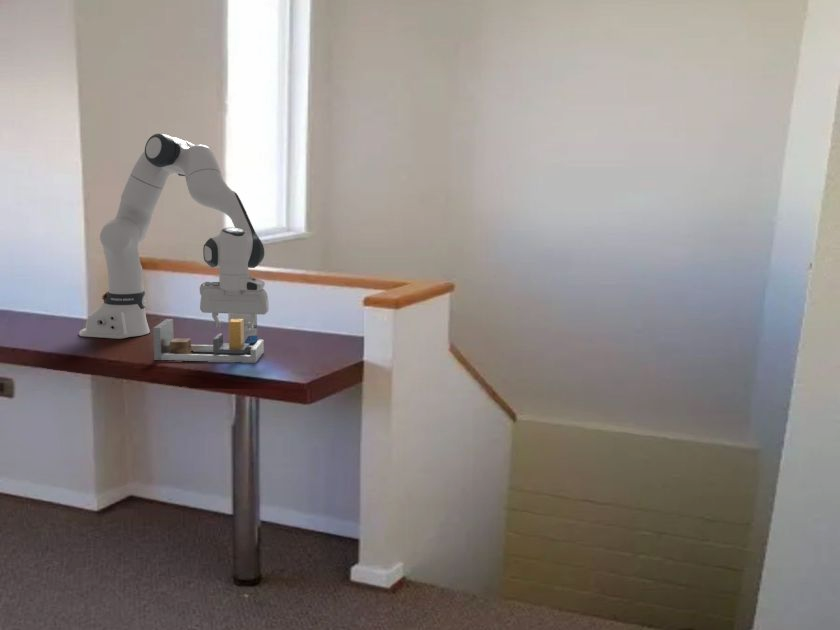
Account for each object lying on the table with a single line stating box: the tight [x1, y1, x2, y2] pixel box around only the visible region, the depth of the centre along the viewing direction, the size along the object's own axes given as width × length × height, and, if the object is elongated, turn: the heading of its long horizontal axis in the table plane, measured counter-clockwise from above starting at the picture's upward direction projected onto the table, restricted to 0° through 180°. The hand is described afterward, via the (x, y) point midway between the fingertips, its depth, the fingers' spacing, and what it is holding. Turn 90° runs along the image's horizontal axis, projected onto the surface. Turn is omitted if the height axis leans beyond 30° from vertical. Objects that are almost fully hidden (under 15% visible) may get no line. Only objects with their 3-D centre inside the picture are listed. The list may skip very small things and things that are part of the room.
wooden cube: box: [170, 337, 192, 354], centre depth 271 cm, size 5×5×5 cm
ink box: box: [227, 313, 258, 345], centre depth 290 cm, size 9×5×12 cm, turn 112°
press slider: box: [212, 319, 251, 355], centre depth 270 cm, size 9×9×11 cm
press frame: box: [152, 318, 265, 364], centre depth 270 cm, size 30×14×10 cm, turn 90°
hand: (234, 327), depth 269 cm, fingers open, 8 cm apart
